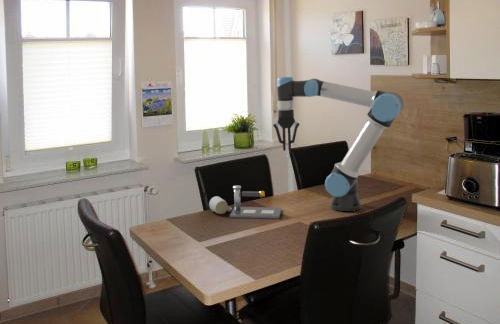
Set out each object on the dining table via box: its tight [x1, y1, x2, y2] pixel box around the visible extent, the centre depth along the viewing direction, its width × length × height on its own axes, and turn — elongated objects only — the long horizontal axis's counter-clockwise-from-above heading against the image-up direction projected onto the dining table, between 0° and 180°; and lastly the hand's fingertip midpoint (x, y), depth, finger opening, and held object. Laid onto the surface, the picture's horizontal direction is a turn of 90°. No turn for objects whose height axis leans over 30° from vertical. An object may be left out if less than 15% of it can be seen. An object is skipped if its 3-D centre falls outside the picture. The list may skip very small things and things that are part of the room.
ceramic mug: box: [208, 195, 233, 215], centre depth 260 cm, size 11×8×8 cm
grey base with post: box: [229, 184, 283, 220], centre depth 256 cm, size 24×14×13 cm, turn 82°
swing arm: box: [241, 190, 265, 198], centre depth 259 cm, size 11×3×2 cm, turn 82°
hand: (287, 156), depth 256 cm, fingers closed
